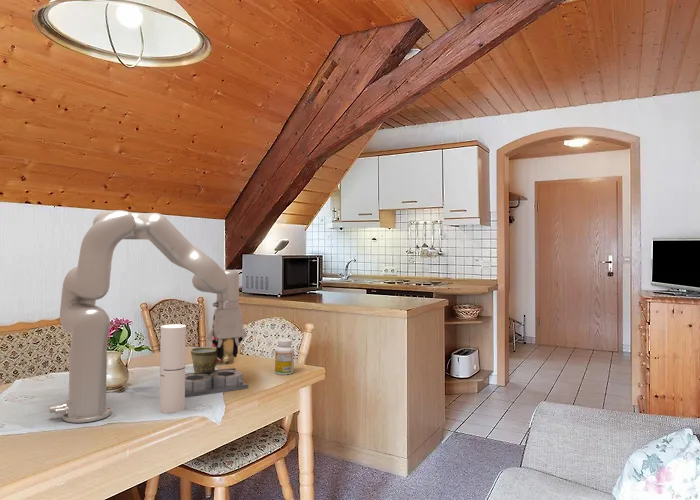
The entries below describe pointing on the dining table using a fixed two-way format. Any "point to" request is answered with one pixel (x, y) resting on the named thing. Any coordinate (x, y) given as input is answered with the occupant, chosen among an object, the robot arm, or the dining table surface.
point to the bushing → (227, 351)
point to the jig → (213, 382)
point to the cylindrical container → (172, 368)
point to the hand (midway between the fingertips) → (227, 356)
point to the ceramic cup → (204, 359)
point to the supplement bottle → (284, 357)
